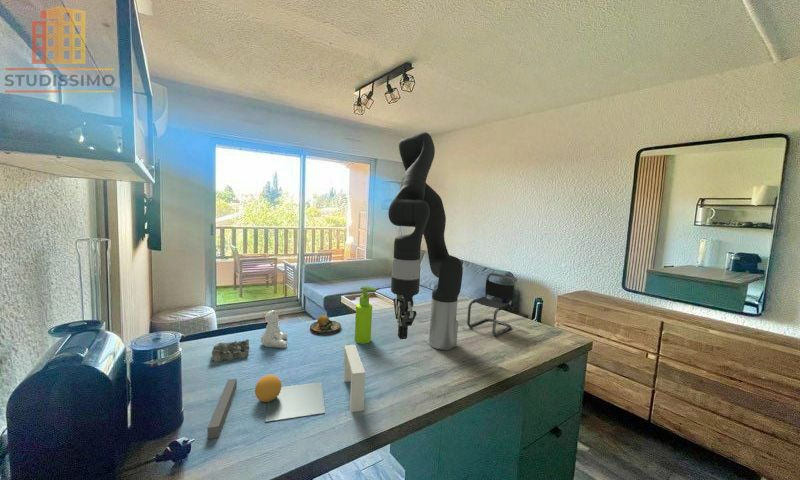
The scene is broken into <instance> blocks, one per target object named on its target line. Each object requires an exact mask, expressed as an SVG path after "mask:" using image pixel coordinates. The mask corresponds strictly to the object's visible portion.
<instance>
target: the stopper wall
mask: <svg viewBox="0 0 800 480" xmlns="http://www.w3.org/2000/svg"><path fill="white" fill-rule="evenodd" d="M237 380H238V379H237V378H230V379H229V378H228V379H227V381H226V384H225V386H224V387H223V390H222V392H221V395H220V398H219V400H218V403H217V404H216V406H215V409H214V412H213V413H212V416H211V419H210V421H209V424H208V426H207V440H212V439H218V438H220V435H221V432H222V429H223V428H224V427H223V426H224V424H225V422H226V419H227V416H228V413H229V410H230V408H231V405H232V401H233V398H234V397H235V393H236V391H237V388H238V387H237V385H238V384H237V383H238V381H237Z"/></svg>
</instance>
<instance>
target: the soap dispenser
mask: <svg viewBox="0 0 800 480" xmlns="http://www.w3.org/2000/svg"><path fill="white" fill-rule="evenodd" d="M376 289H377V288H375V287H372V286H361V287H360V290H361V295H359V303H357V304H356V305H355V323H354V325H355V326H354V341H355V343H357V344H364V345H365V344H368V343H370V342H371V340H372V325H373V324H372V323H373V319H372V317H373V305H372V304H371V303H370V295H368V291H372V292H375V291H376Z"/></svg>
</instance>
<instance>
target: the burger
mask: <svg viewBox="0 0 800 480" xmlns="http://www.w3.org/2000/svg"><path fill="white" fill-rule="evenodd" d="M341 328H342V325H341V323H340V322H337V321H336V320H330V319H329V316H328V315H326V314H325V315H321V314H320V316H319V317H318V318H317V321H315V322H313V323H311V324H310V327H309V331H310V333H312V334H315V335H320V336H327V335H333V334H337V333H339V332H340V330H341Z"/></svg>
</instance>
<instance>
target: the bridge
mask: <svg viewBox="0 0 800 480" xmlns="http://www.w3.org/2000/svg"><path fill="white" fill-rule="evenodd" d="M343 349H344V350H343V353H344V354H343V372H342V373H343V375H342V376H343V382H344V383H349V382H350V397H349V398H350V399H349V409H350V412H351V413H354V412H362V411H364V408H365V386H366V385H365V384H366V370H365V368H364V365H363V363H362V359H361V358H360V354H359V352H358V349H357V346H356V344H345V345H344V348H343Z"/></svg>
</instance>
